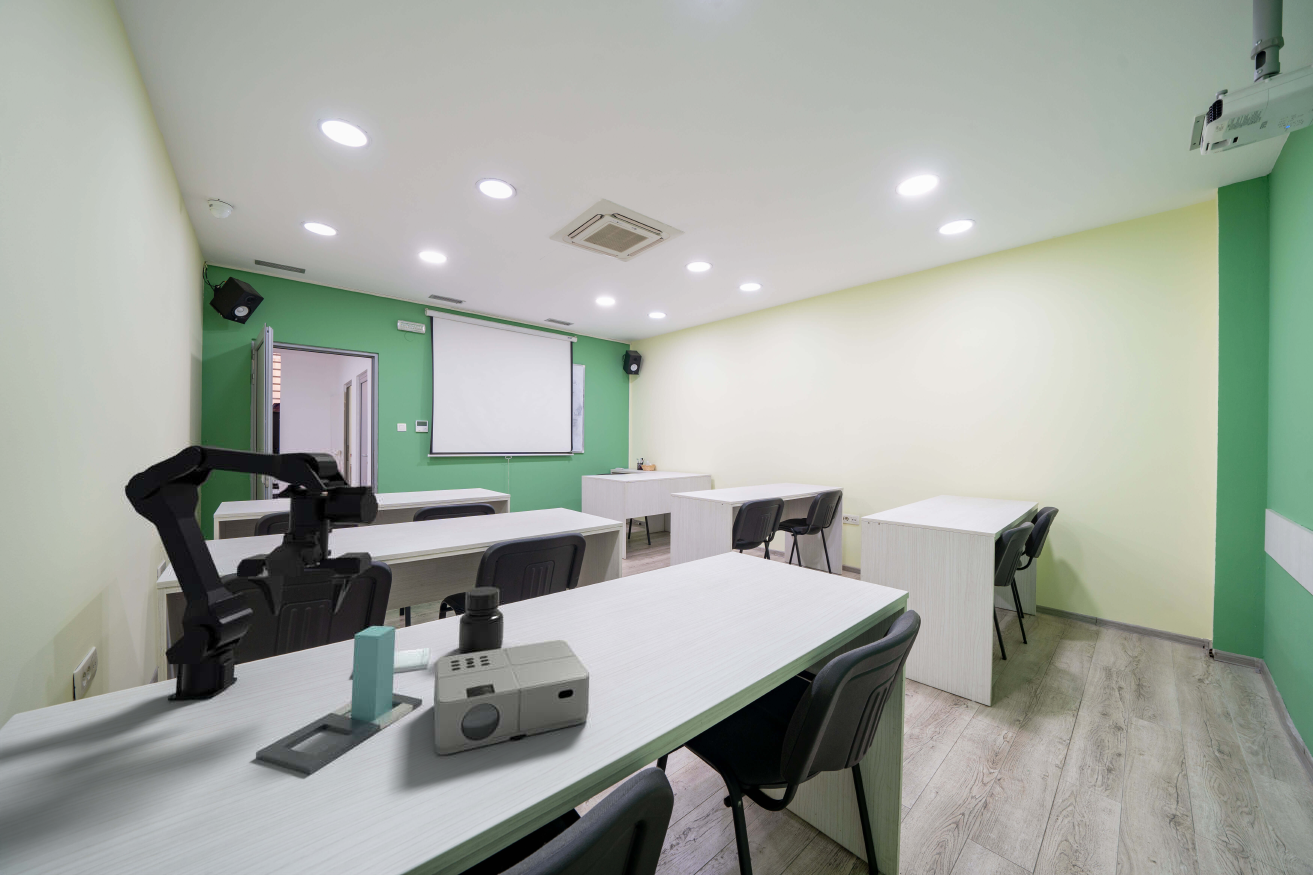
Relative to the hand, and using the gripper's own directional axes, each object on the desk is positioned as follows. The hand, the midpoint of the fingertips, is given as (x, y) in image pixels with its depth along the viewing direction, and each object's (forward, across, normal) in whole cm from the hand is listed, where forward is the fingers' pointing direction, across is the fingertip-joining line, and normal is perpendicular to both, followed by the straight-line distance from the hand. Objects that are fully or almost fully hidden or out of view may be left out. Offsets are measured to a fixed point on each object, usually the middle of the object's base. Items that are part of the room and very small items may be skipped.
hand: (305, 613), depth 83 cm
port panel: (+13, +13, -14) cm, 23 cm away
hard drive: (+14, +12, +9) cm, 20 cm away
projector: (+14, +36, -13) cm, 41 cm away
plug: (+13, +15, -10) cm, 22 cm away
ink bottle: (+13, +27, +15) cm, 34 cm away
